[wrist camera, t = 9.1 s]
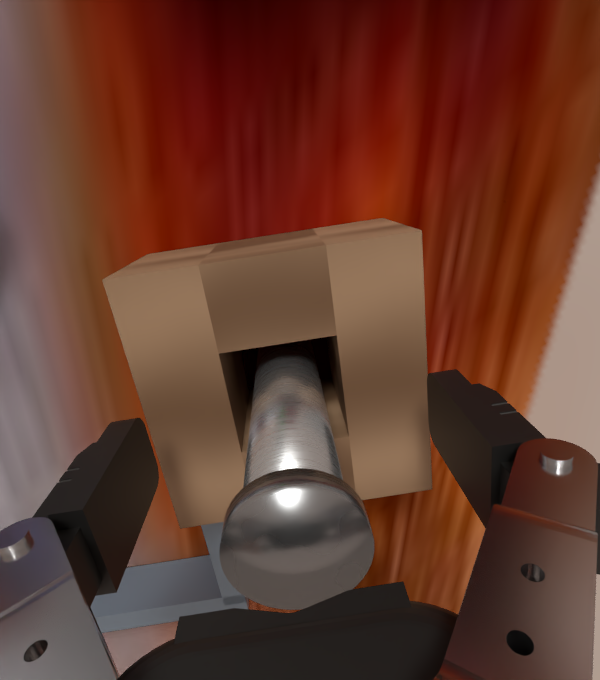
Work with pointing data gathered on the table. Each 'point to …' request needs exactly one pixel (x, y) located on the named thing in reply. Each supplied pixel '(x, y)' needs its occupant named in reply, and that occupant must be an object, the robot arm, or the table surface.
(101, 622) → the open frame
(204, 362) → the slotted tan block
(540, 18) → the table surface
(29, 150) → the table surface
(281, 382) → the cylinder
